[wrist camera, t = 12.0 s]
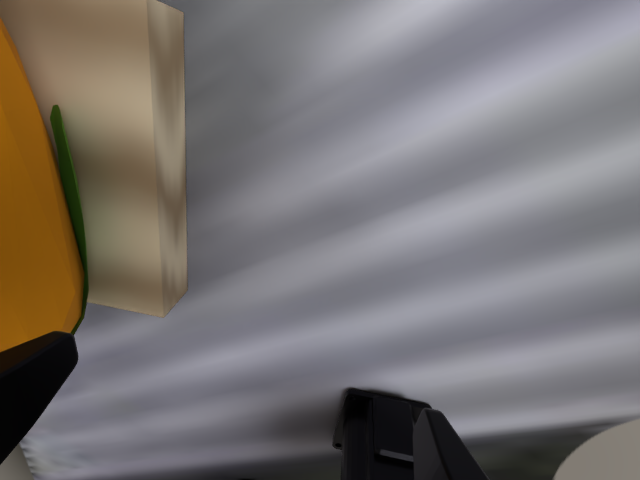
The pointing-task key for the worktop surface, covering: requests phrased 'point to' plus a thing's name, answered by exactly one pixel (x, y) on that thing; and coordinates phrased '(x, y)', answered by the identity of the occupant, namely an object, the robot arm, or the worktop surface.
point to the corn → (36, 215)
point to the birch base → (117, 135)
